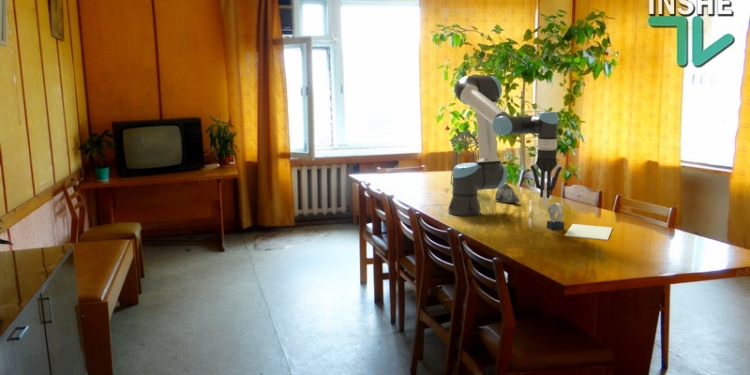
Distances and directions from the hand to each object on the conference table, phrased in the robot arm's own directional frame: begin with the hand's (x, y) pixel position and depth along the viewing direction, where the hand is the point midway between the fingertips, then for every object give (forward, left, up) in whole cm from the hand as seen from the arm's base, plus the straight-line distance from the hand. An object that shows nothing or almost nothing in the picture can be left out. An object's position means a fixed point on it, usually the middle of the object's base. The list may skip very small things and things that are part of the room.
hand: (544, 205), depth 243 cm
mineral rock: (-28, +49, -10) cm, 57 cm away
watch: (+5, 0, -10) cm, 11 cm away
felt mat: (+18, 0, -10) cm, 21 cm away
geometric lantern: (-57, +69, -10) cm, 90 cm away
